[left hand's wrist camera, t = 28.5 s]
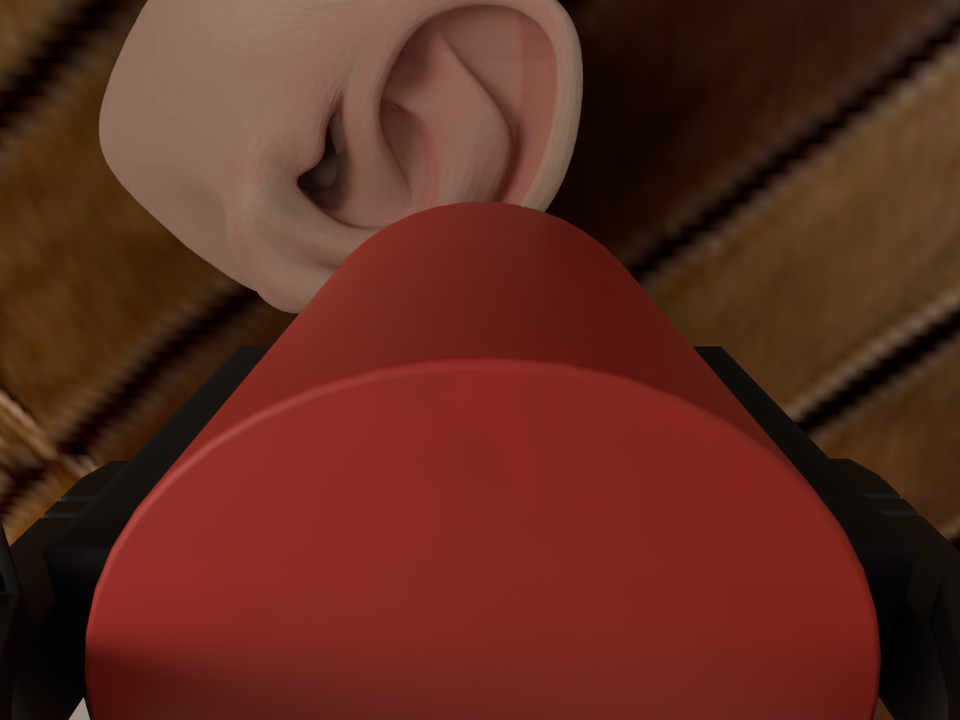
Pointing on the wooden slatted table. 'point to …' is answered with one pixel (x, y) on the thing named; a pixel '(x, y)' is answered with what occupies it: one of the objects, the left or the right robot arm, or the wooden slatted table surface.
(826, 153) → the wooden slatted table surface
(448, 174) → the anatomical model
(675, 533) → the canister
